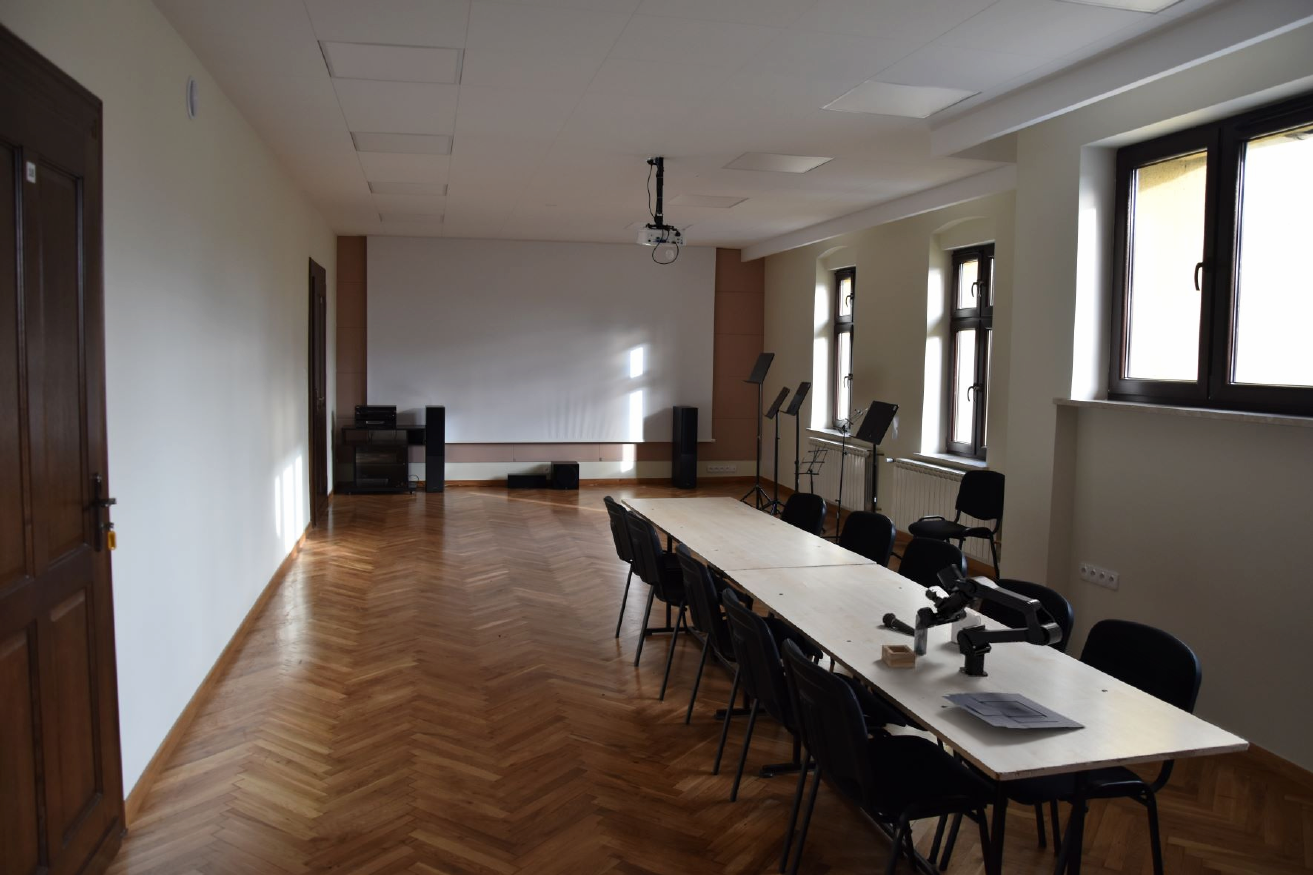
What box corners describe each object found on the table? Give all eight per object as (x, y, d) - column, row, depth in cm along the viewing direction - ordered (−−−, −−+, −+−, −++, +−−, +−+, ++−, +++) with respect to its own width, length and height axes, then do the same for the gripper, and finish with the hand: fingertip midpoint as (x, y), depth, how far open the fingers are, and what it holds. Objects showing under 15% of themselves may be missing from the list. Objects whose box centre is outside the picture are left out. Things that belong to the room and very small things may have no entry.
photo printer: (948, 640, 299) (950, 605, 298) (957, 639, 301) (959, 604, 300) (972, 650, 290) (974, 614, 289) (981, 648, 292) (983, 612, 291)
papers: (934, 703, 241) (936, 690, 241) (1016, 702, 253) (1018, 690, 253) (998, 739, 219) (1001, 725, 219) (1085, 736, 231) (1087, 723, 230)
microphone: (927, 646, 302) (885, 625, 317) (932, 631, 302) (891, 611, 317) (918, 644, 299) (877, 623, 314) (924, 629, 299) (882, 609, 314)
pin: (928, 654, 284) (930, 617, 283) (916, 654, 284) (918, 617, 283) (923, 650, 288) (925, 613, 287) (911, 650, 288) (913, 613, 287)
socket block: (915, 667, 272) (915, 653, 272) (890, 667, 272) (891, 653, 271) (905, 658, 280) (906, 644, 280) (881, 658, 279) (882, 645, 279)
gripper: (961, 577, 283) (931, 601, 293) (923, 584, 273) (894, 609, 283) (980, 606, 277) (949, 630, 287) (942, 615, 267) (912, 639, 277)
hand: (926, 626), depth 284 cm, fingers open, 9 cm apart
